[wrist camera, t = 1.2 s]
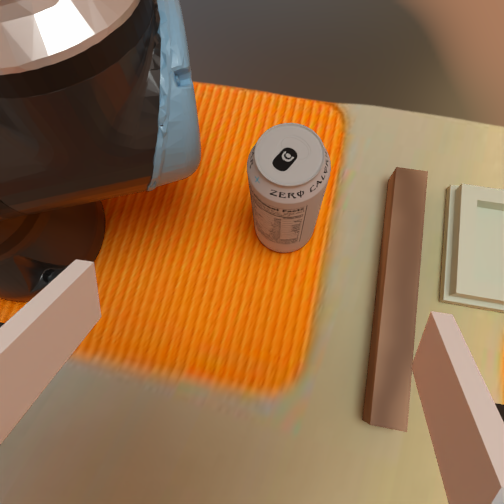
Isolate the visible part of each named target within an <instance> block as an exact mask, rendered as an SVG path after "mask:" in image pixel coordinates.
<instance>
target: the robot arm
mask: <svg viewBox="0 0 504 504" xmlns="http://www.w3.org/2000/svg"><path fill="white" fill-rule="evenodd" d="M200 159H201V144H200V133H199V124H198V116H197V109H196V101H195V94H194V88H193V82H192V80H191V69H190V62H189V52H188V45H187V39H186V33H185V27H184V21H183V16H182V10H181V6H180V2H179V0H0V298H2V299H6V300H10V301H16V302H28V303H27V304H26V305H25V306H24V307H23V308H21V309H20V310H19V311H18V312H17V313H16V314H15V315H14V316H13V317H11V318H10V319H9V320H8V321H7V322H6V323H1V322H0V445H1V443H2V442H3V441H4V439H5V438H6V437H7V436H8V434H9V433H10V432H11V431H12V429H13V428H14V427H15V426H16V424H17V423H18V422H19V420H20V419H21V418H22V417H23V415H24V414H25V413H26V412H27V410H28V409H29V408H30V407H31V405H32V404H33V403H34V401H35V400H36V399H37V398H38V396H39V395H40V394H41V393H42V391H43V390H44V389H45V388H46V386H47V385H48V384H49V382H50V381H51V380H52V379H53V377H54V376H55V375H56V374H57V372H58V371H59V370H60V368H61V367H62V366H63V365H64V363H65V362H66V361H67V360H68V358H69V357H70V356H71V355H72V353H73V352H74V351H75V349H76V348H77V347H78V346H79V344H80V343H81V342H82V341H83V339H84V338H85V337H86V336H87V334H88V333H89V332H90V330H91V329H92V328H93V327H94V325H95V324H96V323H97V322H98V320H99V319H100V318H101V311H100V304H99V296H98V289H97V281H96V274H95V266H94V260H95V259H96V257H97V255H98V253H99V250H100V248H101V245H102V242H103V238H104V232H105V215H104V210H103V206H102V203H101V201H100V200H104V199H108V198H113V197H118V196H123V195H128V194H133V193H138V192H142V191H152V190H154V189H155V188H156V187H158V186H161V185H164V184H168V183H171V182H175V181H178V180H181V179H185V178H187V177H189V176H190V175H191V174H193V173H194V172H195V171H196V169H197V168H198V166H199V163H200ZM411 367H412V371H413V374H414V378H415V382H416V385H417V389H418V393H419V396H420V400H421V403H422V407H423V411H424V414H425V418H426V422H427V425H428V429H429V433H430V436H431V440H432V444H433V447H434V451H435V455H436V458H437V462H438V466H439V469H440V473H441V477H442V480H443V484H444V488H445V491H446V495H447V499H448V502H449V504H504V405H501V404H495V403H494V401H493V399H492V397H491V394H490V392H489V390H488V388H487V386H486V384H485V382H484V380H483V378H482V375H481V373H480V371H479V369H478V367H477V365H476V363H475V361H474V359H473V356H472V354H471V352H470V350H469V348H468V346H467V344H466V342H465V340H464V337H463V335H462V333H461V331H460V329H459V327H458V325H457V323H456V321H455V318H454V316H453V314H447V313H440V312H433V311H431V313H430V316H429V318H428V321H427V324H426V327H425V330H424V332H423V335H422V338H421V341H420V344H419V346H418V349H417V352H416V355H415V358H414V360H413V363H412V366H411Z"/></svg>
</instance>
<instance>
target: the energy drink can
mask: <svg viewBox="0 0 504 504" xmlns="http://www.w3.org/2000/svg"><path fill="white" fill-rule="evenodd" d="M330 170H331V165H330V158H329V155H328V152H327V151H326V149H325V147H324V145H323V143H322V141H321V139H320V137H319V136H318V135H317V134H316V133H315V132H314V131H313V130H311V129H310V128H308V127H306V126H304V125H301V124H296V123H284V124H279V125H276V126H274V127H272V128H270V129H268V130H267V131H266V132H265V133H263V134H262V136H261V137H260V138H259V140H258V142H257V143H256V144H255V146H254V147H253V148H252V150H251V152H250V154H249V157H248V162H247V173H248V180H249V188H250V195H251V202H252V210H253V217H254V225H255V230H256V234H257V236H258V238H259V240H260V241H261V242H262V243H263V244H264V245H265V246H266V247H268V248H269V249H271V250H274V251H277V252H292V251H295V250H298V249H300V248H301V247H303V246H304V245H305V244H306V243H307V242H308V241H309V239H310V238H311V236H312V233H313V231H314V227H315V224H316V220H317V217H318V214H319V210H320V207H321V203H322V200H323V196H324V193H325V190H326V186H327V183H328V179H329V176H330Z"/></svg>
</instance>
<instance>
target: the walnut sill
mask: <svg viewBox="0 0 504 504" xmlns="http://www.w3.org/2000/svg"><path fill="white" fill-rule="evenodd" d="M427 175H428V171H421V170H413V169H406V168H399V167H396V169H395V171H394V172H393V174H392V175H391V177H390V179H389V180H388V188H387V197H386V207H385V216H384V225H383V234H382V244H381V253H380V262H379V271H378V281H377V290H376V299H375V309H374V318H373V327H372V336H371V346H370V355H369V364H368V374H367V383H366V392H365V401H364V411H363V421H365V422H367V423H368V424H370V425H375V426H380V427H385V428H390V429H394V430H399V431H404V432H407V425H408V413H409V400H410V388H411V375H412V367H411V366H412V362H413V350H414V337H415V325H416V312H417V300H418V287H419V275H420V262H421V250H422V237H423V225H424V212H425V200H426V187H427Z"/></svg>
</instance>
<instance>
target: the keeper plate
mask: <svg viewBox="0 0 504 504" xmlns="http://www.w3.org/2000/svg"><path fill="white" fill-rule="evenodd" d="M439 302H444V303H450V304H456V305H462V306H468V307H473V308H479V309H485V310H491V311H497V312H502V313H504V190H503V189H496V188H489V187H482V186H475V185H468V184H461V185H460V186H455V185H450V186H449V187H448V188H447V191H446V206H445V221H444V237H443V252H442V267H441V283H440V298H439Z"/></svg>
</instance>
